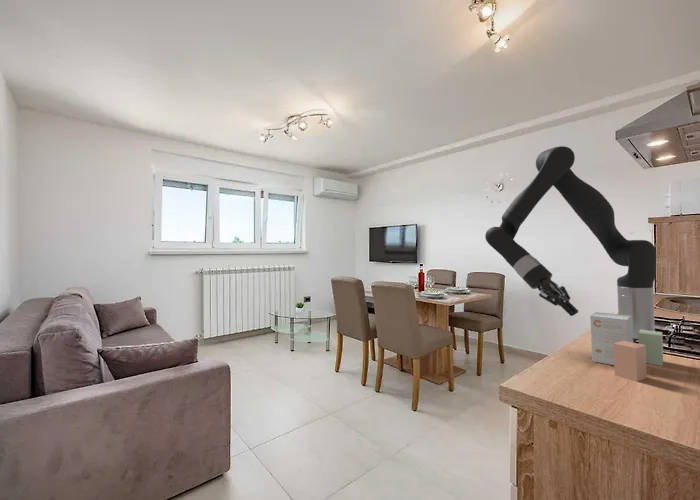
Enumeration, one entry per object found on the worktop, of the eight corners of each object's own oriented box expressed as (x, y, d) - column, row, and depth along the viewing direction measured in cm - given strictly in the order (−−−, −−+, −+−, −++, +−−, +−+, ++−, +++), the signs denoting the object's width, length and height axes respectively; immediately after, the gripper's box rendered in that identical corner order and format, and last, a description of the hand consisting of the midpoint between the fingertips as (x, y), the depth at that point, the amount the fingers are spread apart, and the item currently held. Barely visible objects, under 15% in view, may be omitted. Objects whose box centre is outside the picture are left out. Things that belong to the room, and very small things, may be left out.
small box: (634, 362, 86) (632, 315, 86) (629, 369, 82) (627, 319, 82) (597, 355, 92) (596, 311, 92) (591, 361, 88) (589, 315, 88)
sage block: (641, 357, 89) (640, 329, 89) (663, 361, 86) (662, 332, 86) (639, 361, 86) (638, 332, 86) (662, 365, 83) (661, 335, 83)
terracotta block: (624, 371, 81) (623, 340, 81) (646, 377, 77) (645, 345, 76) (614, 375, 79) (613, 343, 79) (637, 381, 75) (635, 348, 75)
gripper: (529, 264, 99) (575, 309, 88) (550, 262, 106) (594, 303, 96) (513, 280, 103) (555, 324, 93) (534, 277, 110) (575, 318, 100)
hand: (575, 313), depth 94 cm, fingers closed
